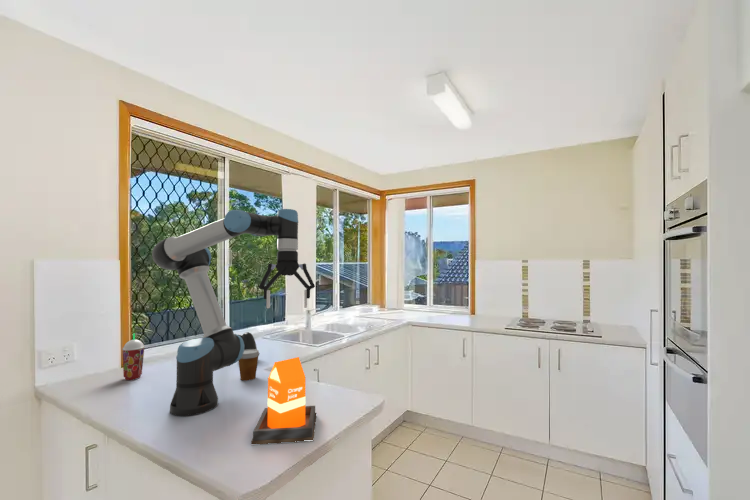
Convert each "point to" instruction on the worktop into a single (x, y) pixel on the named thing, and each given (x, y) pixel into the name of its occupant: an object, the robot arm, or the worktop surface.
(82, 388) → the worktop surface
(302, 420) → the orange juice
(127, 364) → the smoothie
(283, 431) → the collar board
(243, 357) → the disposable coffee cup
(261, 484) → the worktop surface
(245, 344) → the pump dispenser
